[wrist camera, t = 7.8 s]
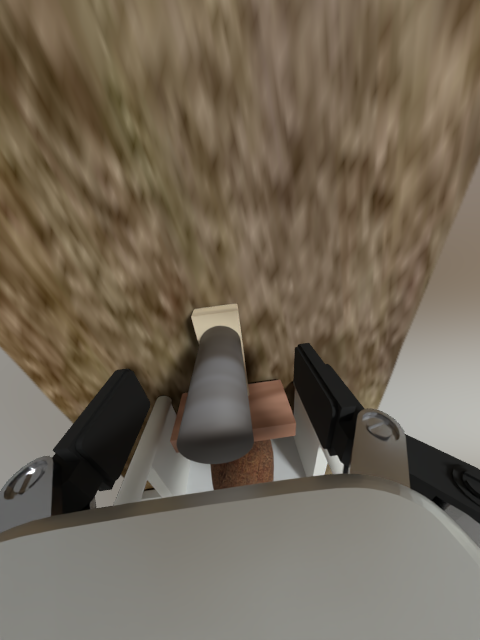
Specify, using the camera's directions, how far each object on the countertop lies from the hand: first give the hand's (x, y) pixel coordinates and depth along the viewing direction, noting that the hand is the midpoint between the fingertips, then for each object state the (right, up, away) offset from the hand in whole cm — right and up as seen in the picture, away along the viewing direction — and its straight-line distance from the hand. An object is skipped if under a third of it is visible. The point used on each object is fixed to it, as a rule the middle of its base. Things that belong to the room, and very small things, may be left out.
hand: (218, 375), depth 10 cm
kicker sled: (0, 0, +4) cm, 4 cm away
